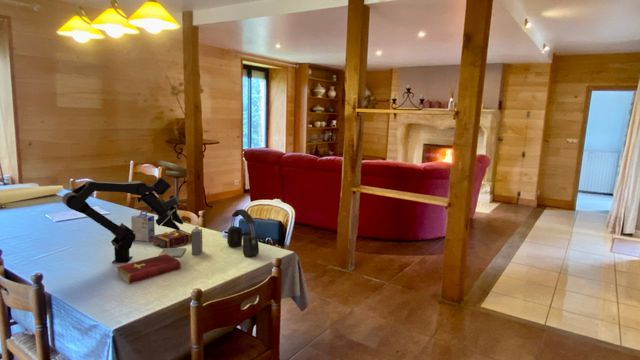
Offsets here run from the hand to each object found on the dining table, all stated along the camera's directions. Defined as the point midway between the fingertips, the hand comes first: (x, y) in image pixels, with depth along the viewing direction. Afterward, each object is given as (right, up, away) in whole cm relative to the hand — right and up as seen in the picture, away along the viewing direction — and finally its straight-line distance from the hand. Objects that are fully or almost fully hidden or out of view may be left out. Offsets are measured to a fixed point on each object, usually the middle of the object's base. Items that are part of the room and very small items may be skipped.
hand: (181, 226), depth 177 cm
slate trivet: (-4, -13, +2) cm, 13 cm away
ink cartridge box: (-26, -9, +20) cm, 34 cm away
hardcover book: (-6, -17, -19) cm, 26 cm away
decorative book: (-10, -11, +16) cm, 21 cm away
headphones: (+26, -13, +9) cm, 31 cm away
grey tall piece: (+7, -13, +3) cm, 15 cm away
